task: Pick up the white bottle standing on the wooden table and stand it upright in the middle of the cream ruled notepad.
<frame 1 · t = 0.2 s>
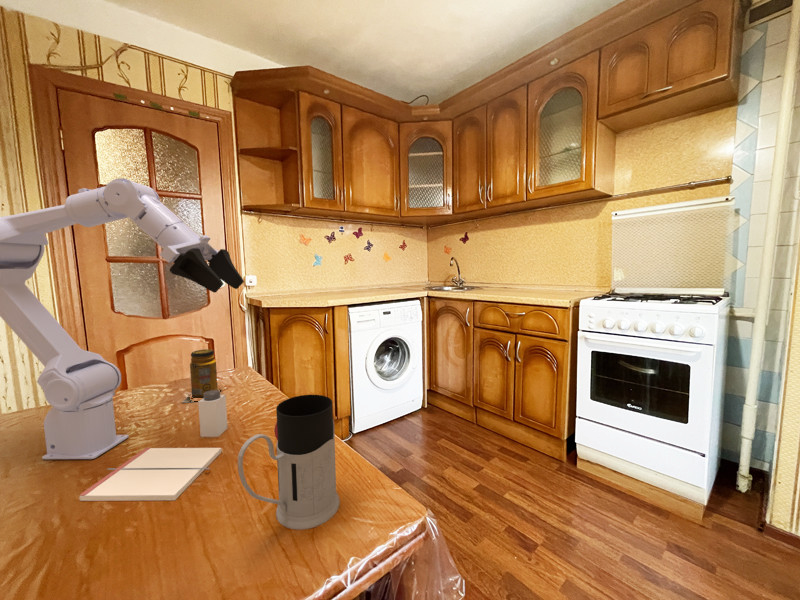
hand: (230, 286, 61), 31 cm above the table, tool tilted 45°, fingers open, 7 cm apart
onion: (291, 448, 64), on the table
glass holder: (293, 518, 46), on the table
notepad: (158, 473, 56), on the table
white bottle: (214, 432, 70), on the table
condiment: (203, 396, 90), on the table
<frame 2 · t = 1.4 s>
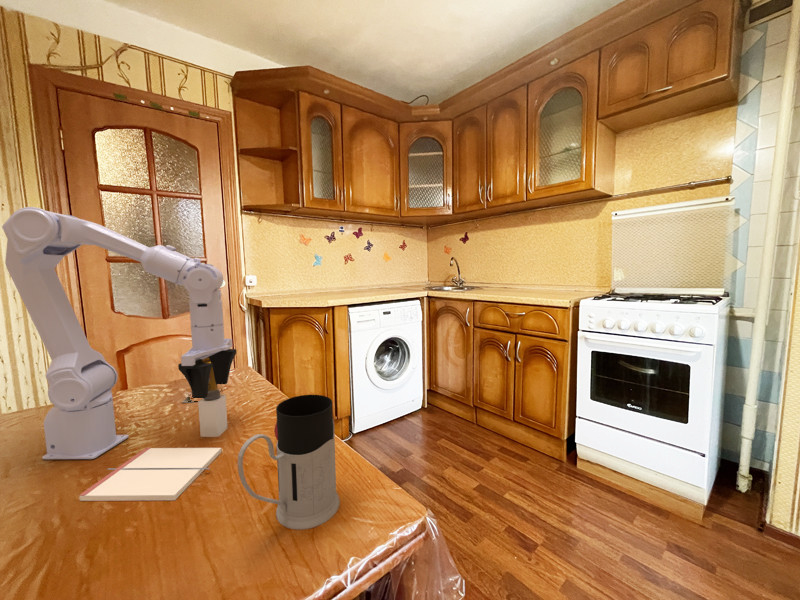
hand: (211, 390, 69), 9 cm above the table, tool pointing down, fingers open, 7 cm apart
nothing on the table moved.
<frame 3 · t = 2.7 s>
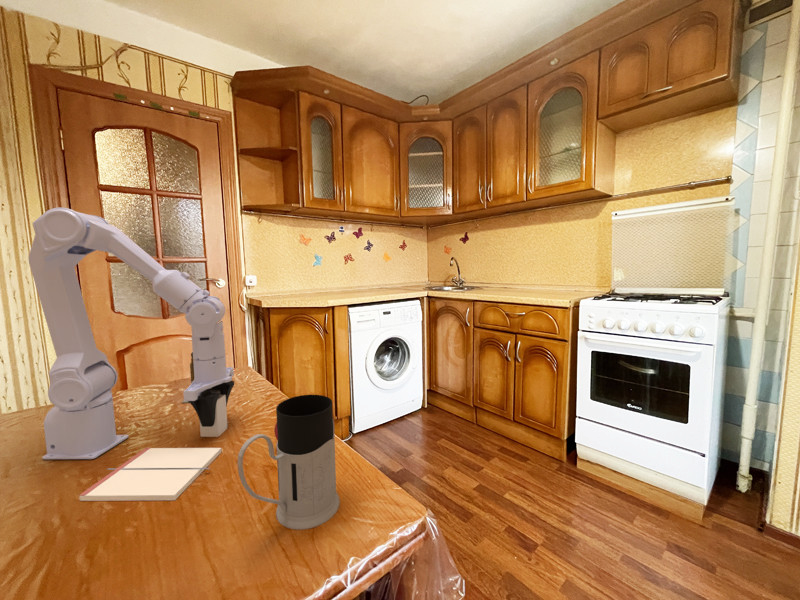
hand: (213, 421, 70), 2 cm above the table, tool pointing down, fingers closed on white bottle, 4 cm apart
white bottle: (214, 432, 70), on the table, touching gripper
everything else where it was.
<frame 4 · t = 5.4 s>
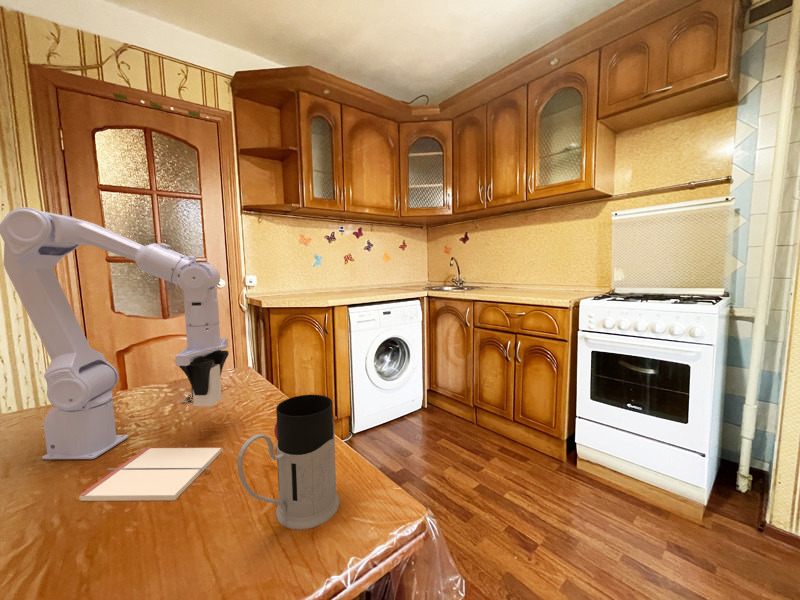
hand: (207, 390, 68), 9 cm above the table, tool pointing down, fingers closed on white bottle, 4 cm apart
white bottle: (208, 402, 68), point 7 cm above the table, touching gripper
everything else where it was.
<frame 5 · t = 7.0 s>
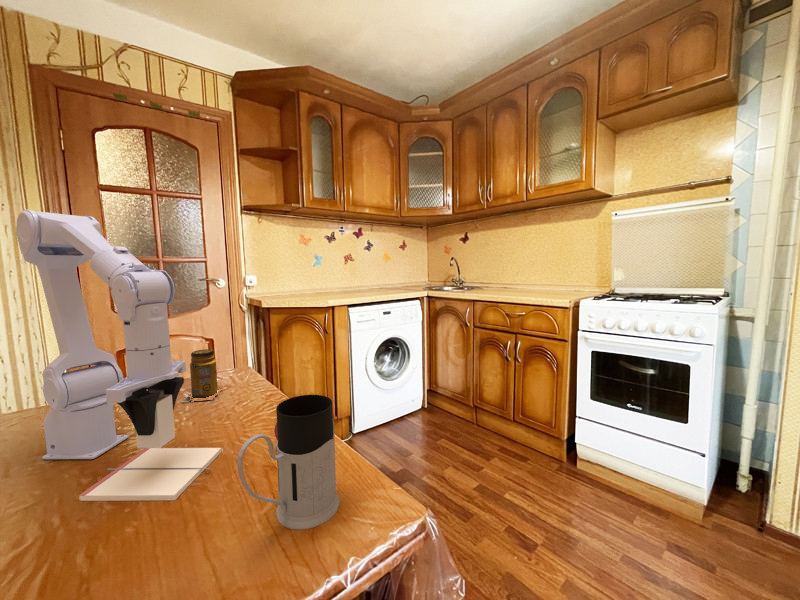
hand: (155, 428, 55), 8 cm above the table, tool pointing down, fingers closed on white bottle, 4 cm apart
white bottle: (156, 442, 55), point 5 cm above the table, touching gripper
everything else where it was.
when the fingers open (4 cm above the table, at t = 8.1 s): white bottle stays where it is, resting on notepad.
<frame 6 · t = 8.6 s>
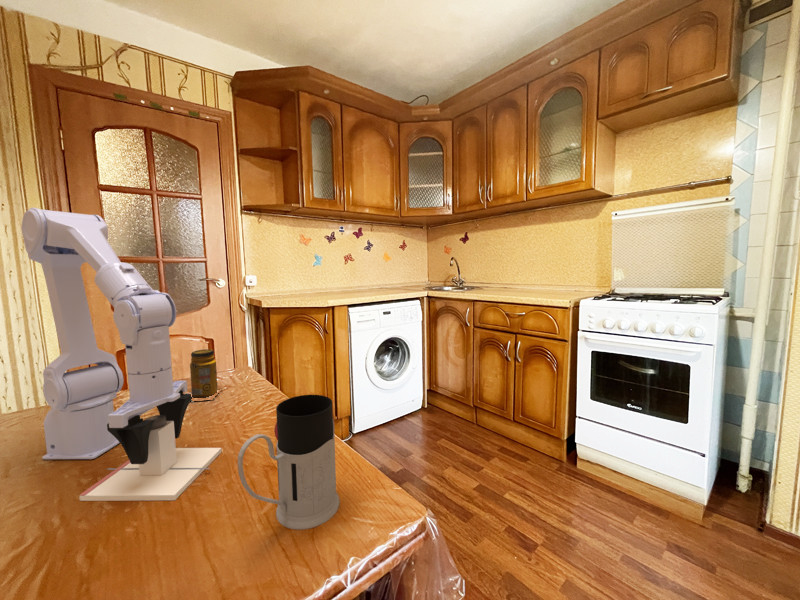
hand: (156, 449, 56), 4 cm above the table, tool pointing down, fingers open, 7 cm apart
white bottle: (158, 468, 56), point 1 cm above the table, touching notepad
everything else where it was.
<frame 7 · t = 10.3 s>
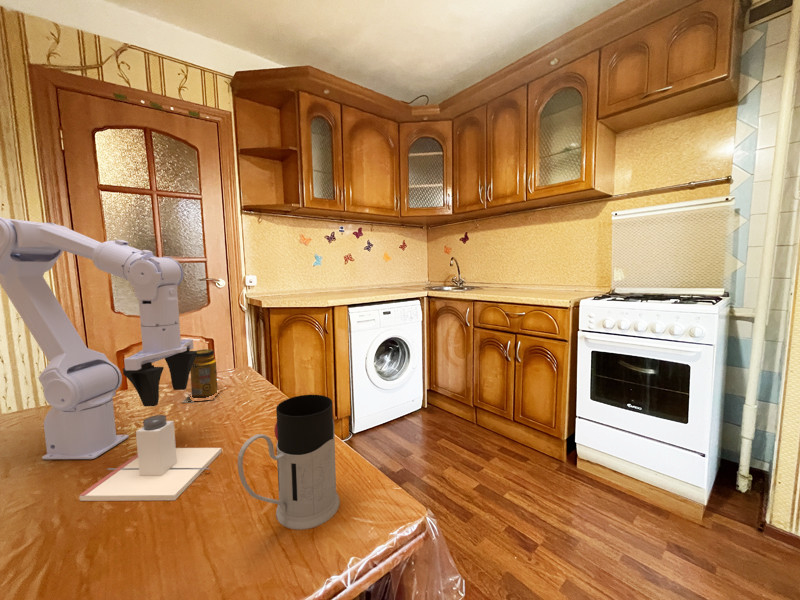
hand: (166, 396, 62), 10 cm above the table, tool pointing down, fingers open, 7 cm apart
nothing on the table moved.
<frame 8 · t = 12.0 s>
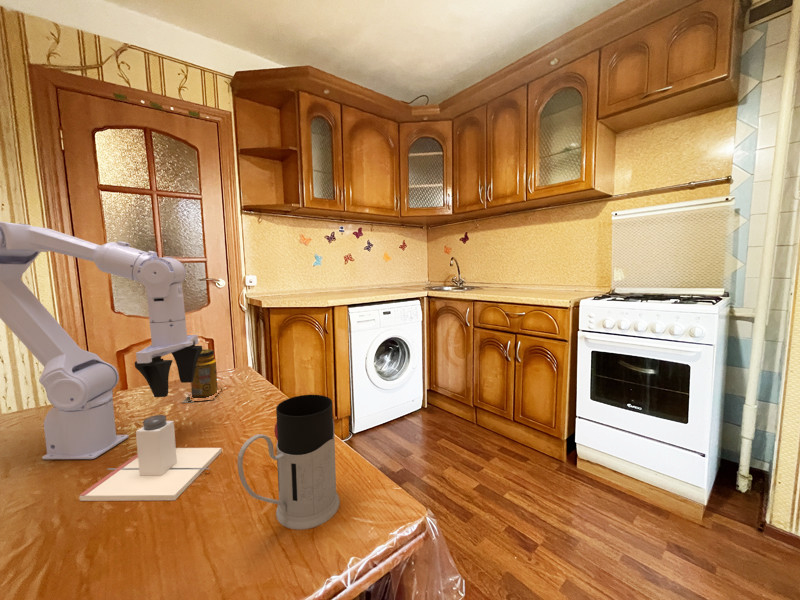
hand: (174, 388, 66), 10 cm above the table, tool pointing down, fingers open, 7 cm apart
nothing on the table moved.
at the end: white bottle inside the target area on the notepad (0.1 cm from its centre), point 0.9 cm above the notepad's base; the gripper is holding nothing; white bottle tilted 0° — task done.
